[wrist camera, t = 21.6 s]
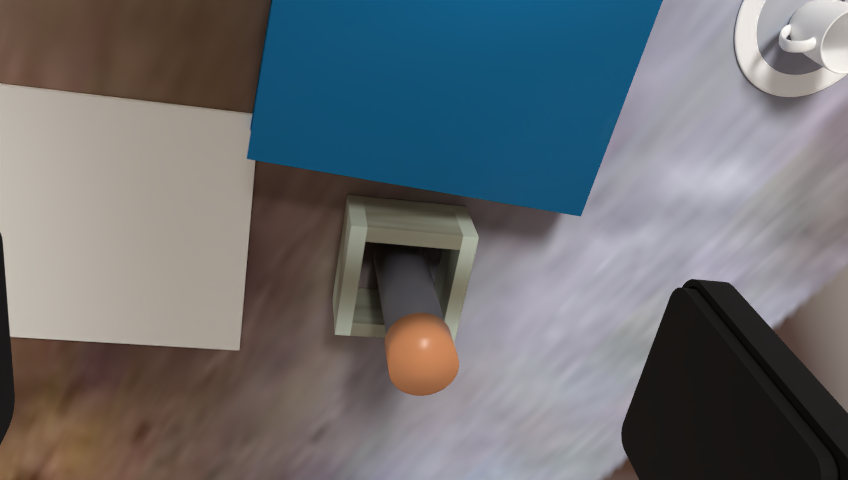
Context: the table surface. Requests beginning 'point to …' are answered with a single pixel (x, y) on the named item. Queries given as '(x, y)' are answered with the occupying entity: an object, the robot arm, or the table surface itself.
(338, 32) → the book
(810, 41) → the teacup and saucer
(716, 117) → the table surface
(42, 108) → the paper
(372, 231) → the pen holder
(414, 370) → the marker
